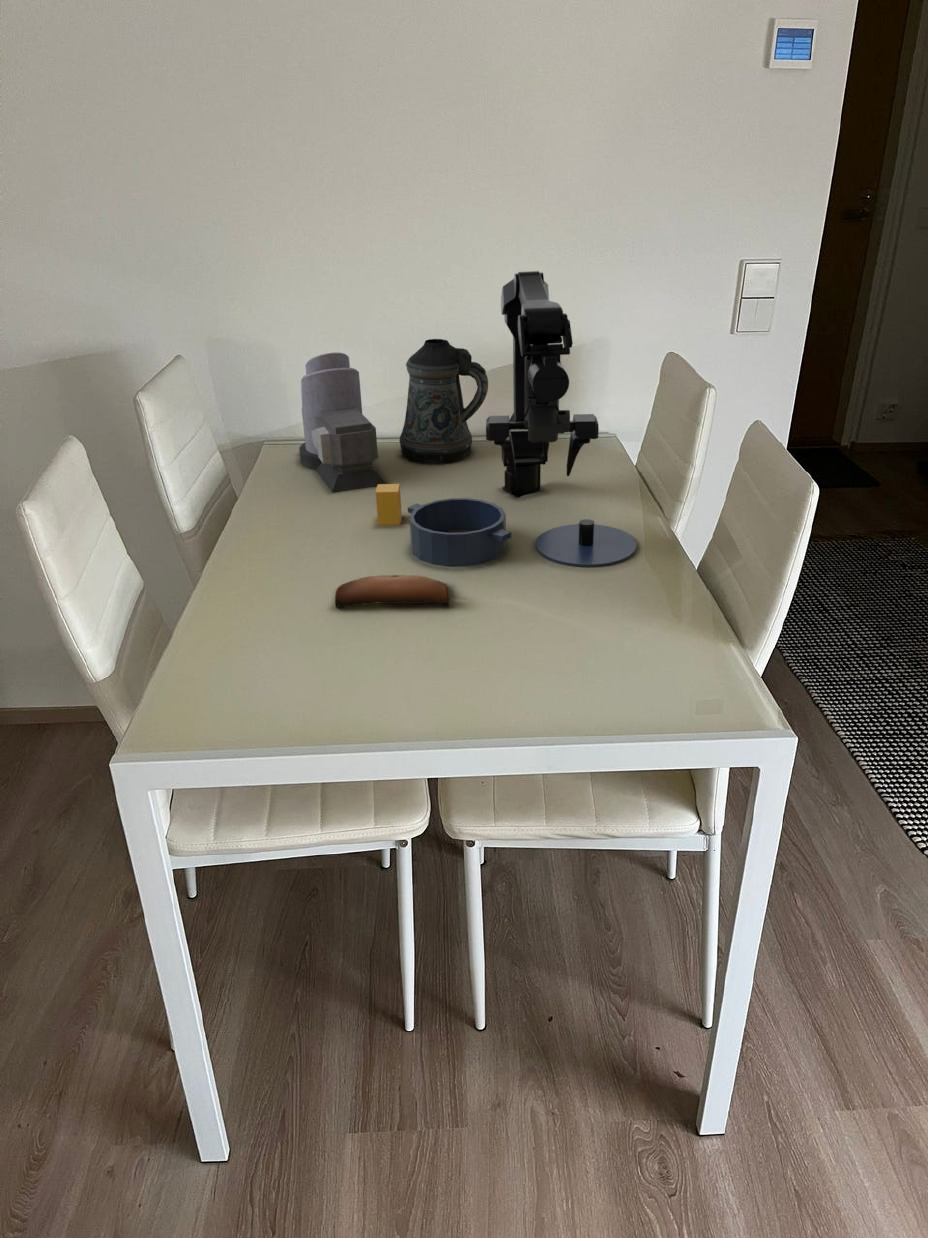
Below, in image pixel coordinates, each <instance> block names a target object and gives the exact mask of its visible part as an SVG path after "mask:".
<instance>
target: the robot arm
mask: <svg viewBox="0 0 928 1238" xmlns="http://www.w3.org/2000/svg"><path fill="white" fill-rule="evenodd" d="M544 277H545V276H544V272H543V271H541V272H540V271H539V270H532V271H531V270H529V271H518V272H517V273H514V275H513V279H511V280H509V281H508V282H507V283H505V284H504V285H502V288H501V295H500V312H501V315H502V316H504V317H503V319H504V324H505V325H506V326H507V328H508V330H509V331H510V333H511V335H512V355H513V356H512V359H513V360H512V366H513V367H512V368H513V370H512V373H513V374H512V376H513V377H512V378H513V382H512V383H513V388H512V389H513V413H512V415H511V416H510V415H489V416H488V417H487V418H486V419H485V420H486V421H485V440H486V441H489V442H493V444H494V445H496V446H500V448H501V449H500V450H501V451H500V452H501V461H502V465H503V467H505V468H506V470H504V485H503V486H502V487H501V488H502V489H501V490H503V491H504V492H506V493H508V494H509V495H511V496H513V497H515V498H517V499H519V498H521V497H524V496H528V495H533V494H536V493H540V492H544V491H545V488H543V487H541V474H542V473H541V470H542V465H546V464H547V462H548V460H549V459H548V458H549V449H550V443H555V442H557V441H558V439H559V434H565V433H570V436H569V443H568V452H567V460H566V477H569V476H570V475H571V473H572V470H573V467H574V464H575V461H576V459H577V456H578V454H579V453H580V450H581V449H582V448H583V446H584V445H586V444H587V445H588V444H590V443H591V440H597V439H599V431H600V429H599V422H598V418H597V416H596V415H595V414H594V413H577V414H576V413H575V414H573V415H572V420H571V411H570V409H560V399H562V398H563V397H564V396H565V395H566V394H567V392H568V390H569V387H570V378H569V375H568V373H567V371H566V370H565V368H564V367H563V365H562V362H561V356H566V355H567V356H568V355H570V354H571V348H573V344H574V343H573V335H572V327H571V320H570V319H569V318H568V317H569V316H568V314H567V313H565V312H564V309H563V308H562V306H561V304H560V303H559V302H555V301H552V300H550V292H549V284H548V283H547V282H546V281H545V278H544ZM562 342H563V343H562Z"/></svg>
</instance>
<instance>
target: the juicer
mask: <svg viewBox="0 0 928 1238" xmlns="http://www.w3.org/2000/svg"><path fill="white" fill-rule="evenodd" d="M360 381H361V380H360V372H359V371H358V370H357V369H356V368H353V367H351V364H350V356H349V355H347V354H346V353H344V352H327V353H321V354H319V355H316V356H314V357H311V358H310V359H308V360H307V362H306V363H305V375H302V378H301V379H300V388H301V389H300V393H301V417H302V426H303V435H304V436H303V437H304V442H303V443H302V444H300V446H299V448H298V450H299V451H298V452H299V459H300V464H301V465H302V466H303V467H305V468H308V469H310V470H315V471H316V472H317V474H318V476H320V478H321V479H322V481H323V482H324V484H325V485H326V486H327V488H328V489H329V491H330V492H331V493H337V492H344V491H351V490H357V489H363V488H370V487H377V485H378V484H388V483H387V482H386V481H385V480H384V478H383V477H382V476H381V475H380V474H379V473H378V471H376V470H375V468H374V467H373V466H374V465H373V463H374V462H375V460H377V459H378V458H379V453H378V440H377V439H378V438H377V427H376V426H375V425H374V424H373V423H372V422H371V421H370V420H369V419H368V418H367V417H366V416H365V415H364V414H363V404H362V393H361V391H362V390H361V382H360Z"/></svg>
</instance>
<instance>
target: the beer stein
mask: <svg viewBox="0 0 928 1238" xmlns="http://www.w3.org/2000/svg"><path fill="white" fill-rule="evenodd" d="M472 359H473V358H472V355H471V353H470V351H469V350H468V349H466V348H462V347H461V348H459V347H455V346H453V345H452V344H451V343H450V342H449V341H448V340H447V339H443V338H429V339H425V341H424V343H423V345H422V346H421V347H420V348H419V349H418V350H416V352H415V353H413V354H412V355H411V356H410V357H409V358H408V359H407V361H406V363H405V367H406V371H407V373H408V376H409V378H408V389H407V400H406V401H407V402H406V408H405V409H406V410H405V417H404V422H403V426H402V431H401V434H400V435H399V445H400V451H401V457H402V458H404V459H406V460H407V461H409V462H411V463H416V464H421V465H443V464H451V463H455V462H459V461H462V460H464V459H466V458H467V457H469V456H470V454H471V449H472V445H473V435H472V433H471V431H470V428H469V425H468V421H469V420H470V418H471V417H473V415H475V414H476V413H477V412H478V411H479V409H480V408H481V406H482V405H483V403H484V401H485V400H486V397H487V395H488V390H489V379H488V375H487V371H486V368H484V367H483V366H482V365H481V364H480V363H478V362H476V361H472ZM460 376H461V377H471V378H472V379H474V380H475V384H476V387H477V388H476V391H475V394H474V396H473V398H472V399H471V401H470V402H469V403H468V405H466V406H464V400H463V392H462V387H461V386H462V385H461V382H460Z"/></svg>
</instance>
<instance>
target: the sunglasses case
mask: <svg viewBox="0 0 928 1238" xmlns="http://www.w3.org/2000/svg"><path fill="white" fill-rule="evenodd" d="M448 585H449V584H448V583H445V582H443V581H440V580H438V579H434V578H431V577H427V576H422V575H417V574H400V575H399V574H387V575H386V574H385V575H371V576H365V577H359V578H356V579H353V580H350V581H347V582H345V583H342V584H341V585H339V586H338V587H337V588H336V590H335V594H334V595H335V596H334V605H335V608H337V607H346V606H347V607H348V606H361V605H370V604H371V605H372V604H401V603H409V604H419V603H420V604H421V603H441V604H442V603H443V604H444V603H445V604H447V605H450V602H451V601H450V598H449V588H448Z"/></svg>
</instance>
